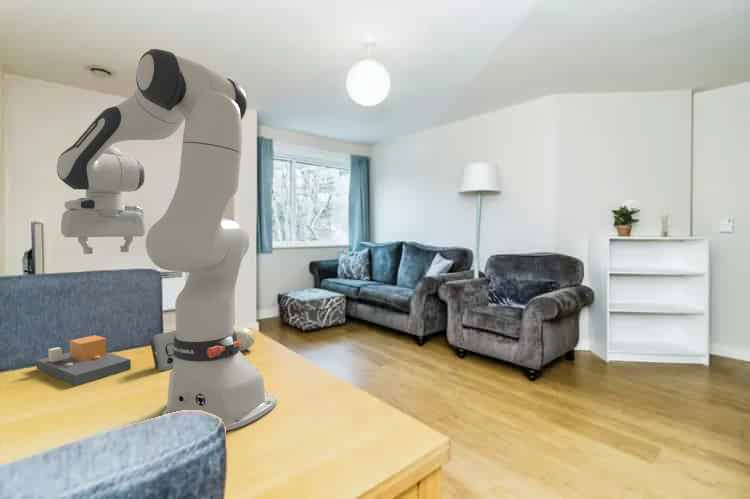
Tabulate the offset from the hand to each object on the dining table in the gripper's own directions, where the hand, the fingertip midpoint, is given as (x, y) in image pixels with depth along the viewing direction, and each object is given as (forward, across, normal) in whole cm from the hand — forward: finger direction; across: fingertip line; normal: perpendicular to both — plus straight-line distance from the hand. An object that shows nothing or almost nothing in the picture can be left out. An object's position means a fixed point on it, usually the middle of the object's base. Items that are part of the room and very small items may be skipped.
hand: (107, 253), depth 107 cm
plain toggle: (+27, +14, +3) cm, 30 cm away
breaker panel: (+29, +10, +8) cm, 32 cm away
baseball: (+29, -21, +31) cm, 48 cm away
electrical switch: (+29, -3, +24) cm, 38 cm away
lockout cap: (+27, +8, +6) cm, 28 cm away
